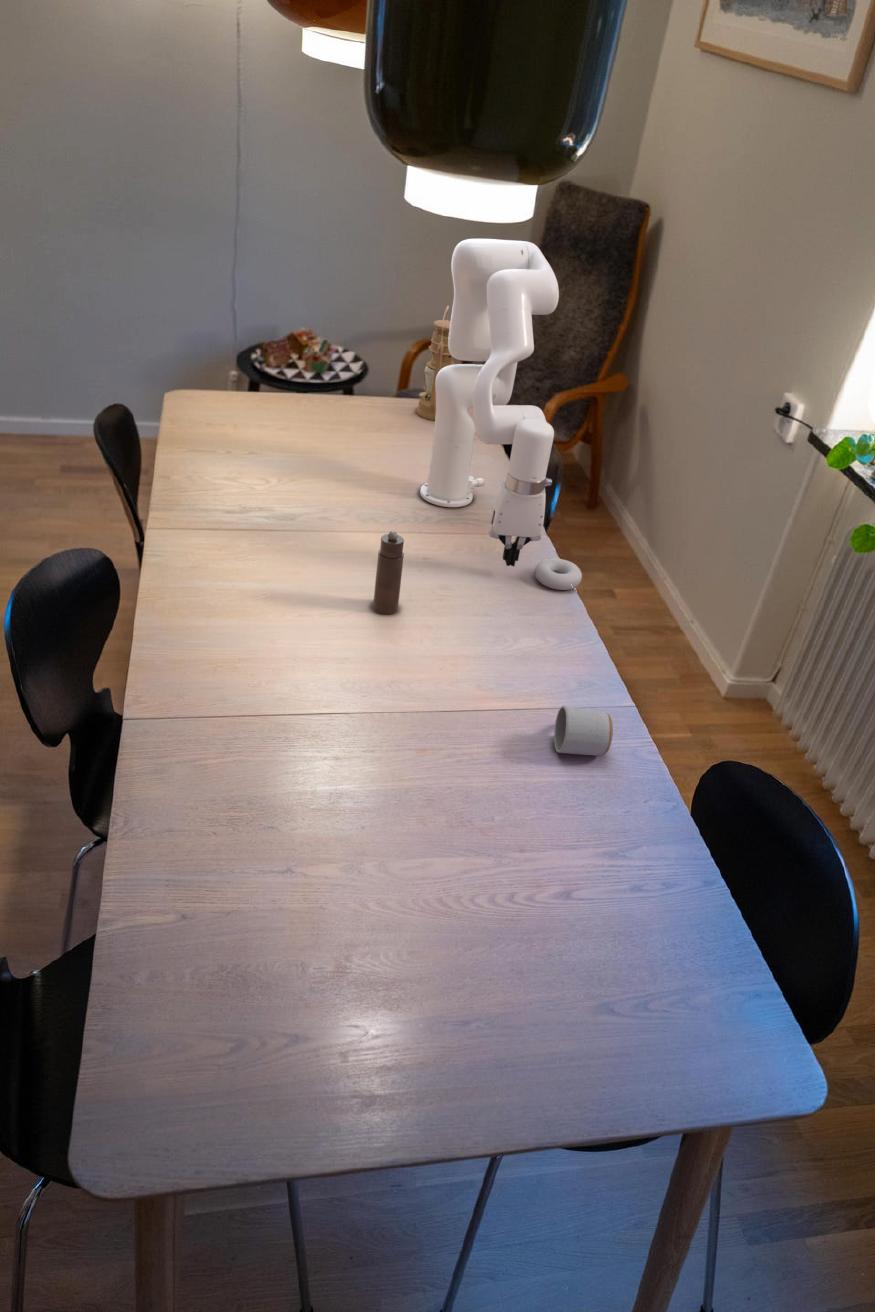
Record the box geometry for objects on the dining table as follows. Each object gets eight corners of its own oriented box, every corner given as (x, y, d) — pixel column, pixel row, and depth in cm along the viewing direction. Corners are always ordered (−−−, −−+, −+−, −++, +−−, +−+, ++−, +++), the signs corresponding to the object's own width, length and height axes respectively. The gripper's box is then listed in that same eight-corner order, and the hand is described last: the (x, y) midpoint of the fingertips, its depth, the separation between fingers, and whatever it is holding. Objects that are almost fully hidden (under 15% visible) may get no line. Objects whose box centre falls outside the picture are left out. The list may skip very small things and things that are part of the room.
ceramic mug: (608, 765, 160) (618, 727, 156) (558, 762, 160) (567, 724, 155) (595, 725, 169) (605, 688, 165) (548, 722, 168) (556, 685, 164)
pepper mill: (389, 599, 196) (397, 523, 186) (402, 611, 192) (411, 535, 183) (368, 604, 193) (375, 528, 184) (381, 616, 190) (388, 539, 181)
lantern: (413, 403, 289) (424, 296, 272) (448, 405, 291) (462, 299, 274) (420, 422, 276) (432, 312, 260) (457, 424, 278) (471, 315, 262)
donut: (581, 596, 206) (579, 572, 214) (584, 582, 204) (582, 558, 212) (533, 589, 206) (533, 565, 214) (535, 575, 204) (536, 551, 212)
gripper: (558, 477, 201) (541, 556, 212) (485, 471, 199) (472, 551, 209) (565, 493, 195) (547, 574, 206) (490, 488, 193) (476, 569, 203)
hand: (509, 562), depth 208 cm, fingers closed
